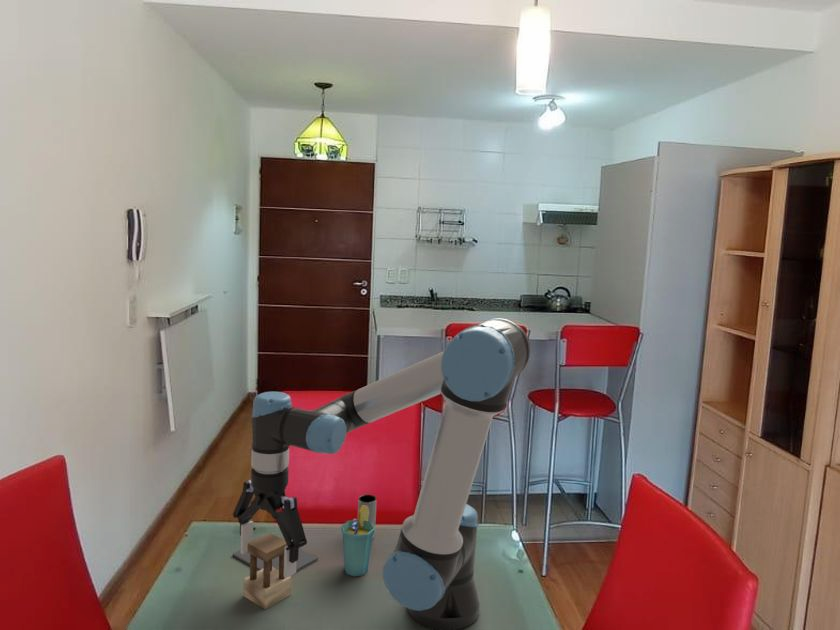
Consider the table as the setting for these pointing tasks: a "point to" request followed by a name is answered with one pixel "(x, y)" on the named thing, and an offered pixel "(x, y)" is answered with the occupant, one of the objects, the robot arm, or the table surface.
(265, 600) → the oak block
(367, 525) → the cup
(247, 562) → the mat
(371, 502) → the grey hollow cylinder
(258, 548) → the stool
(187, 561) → the table surface
